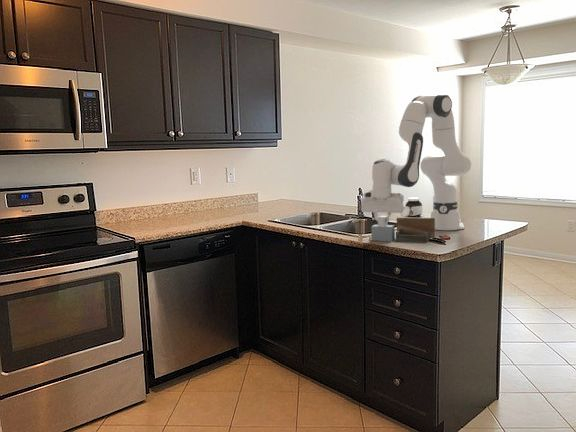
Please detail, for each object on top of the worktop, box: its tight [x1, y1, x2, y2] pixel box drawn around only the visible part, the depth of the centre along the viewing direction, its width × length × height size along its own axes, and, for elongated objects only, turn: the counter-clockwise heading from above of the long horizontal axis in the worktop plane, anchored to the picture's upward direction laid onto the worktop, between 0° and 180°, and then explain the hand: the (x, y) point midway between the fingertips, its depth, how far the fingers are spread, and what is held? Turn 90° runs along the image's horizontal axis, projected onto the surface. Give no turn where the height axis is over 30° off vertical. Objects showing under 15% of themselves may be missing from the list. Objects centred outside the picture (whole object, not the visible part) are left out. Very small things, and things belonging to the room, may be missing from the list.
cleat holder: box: [395, 216, 436, 243], centre depth 224 cm, size 10×18×10 cm, turn 62°
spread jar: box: [399, 197, 423, 218], centre depth 292 cm, size 12×11×12 cm
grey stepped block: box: [370, 215, 396, 242], centre depth 228 cm, size 6×10×12 cm, turn 61°
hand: (382, 221), depth 227 cm, fingers closed on grey stepped block, 3 cm apart
